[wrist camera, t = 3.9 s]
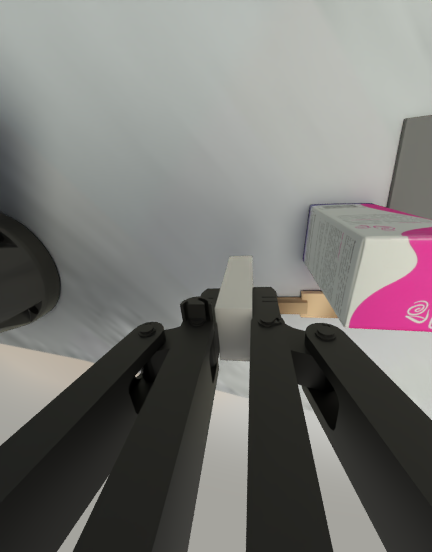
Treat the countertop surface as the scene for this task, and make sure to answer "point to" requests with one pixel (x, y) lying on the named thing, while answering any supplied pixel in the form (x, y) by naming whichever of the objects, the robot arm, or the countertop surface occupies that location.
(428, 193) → the mat
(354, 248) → the supplement box
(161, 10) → the countertop surface
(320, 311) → the turner
